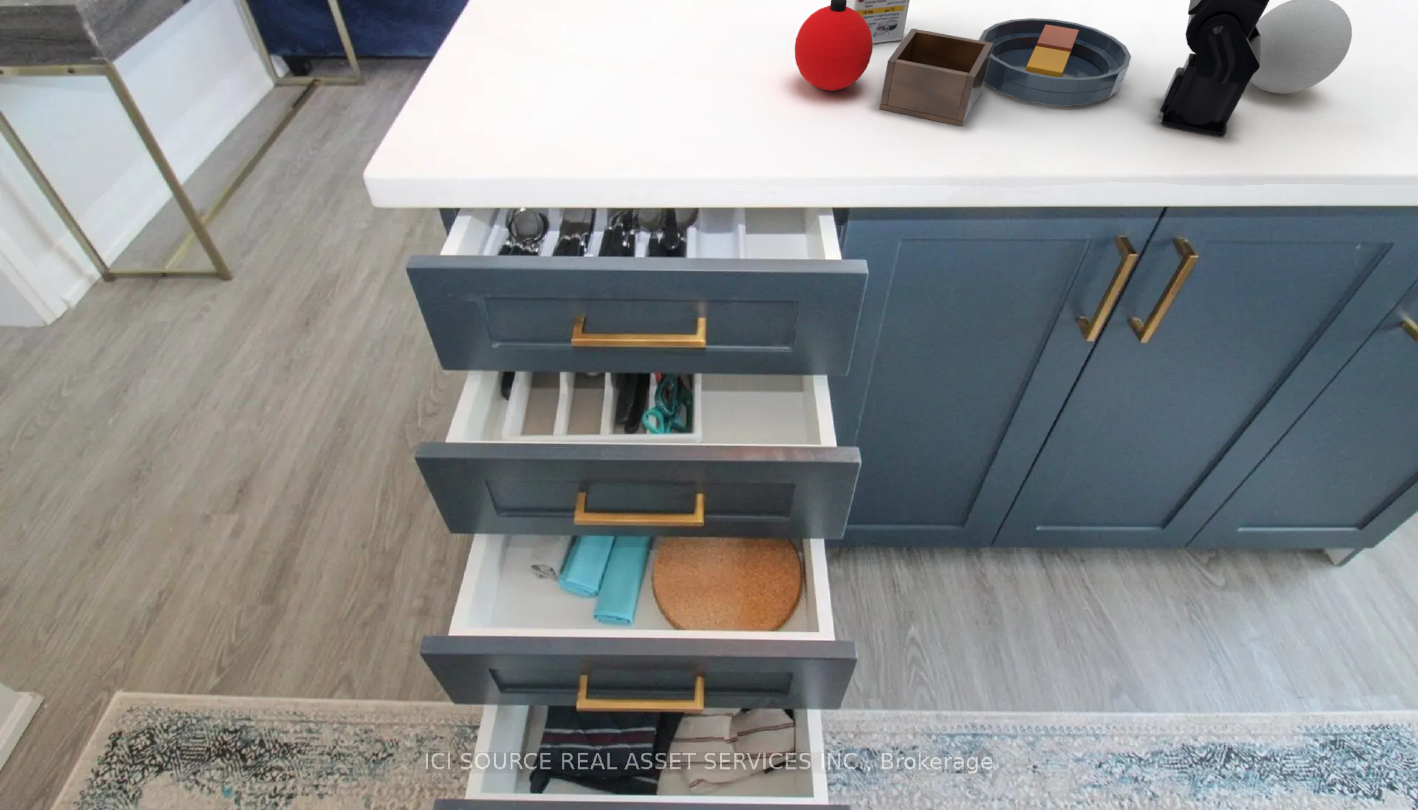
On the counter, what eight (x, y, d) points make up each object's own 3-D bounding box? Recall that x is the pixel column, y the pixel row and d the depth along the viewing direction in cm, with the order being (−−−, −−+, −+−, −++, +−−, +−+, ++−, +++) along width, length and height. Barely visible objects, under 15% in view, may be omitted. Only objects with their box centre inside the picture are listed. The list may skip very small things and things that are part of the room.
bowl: (1125, 61, 95) (1137, 33, 93) (1109, 122, 85) (1122, 91, 82) (988, 37, 100) (995, 9, 98) (958, 91, 90) (965, 62, 87)
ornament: (882, 90, 90) (897, 1, 83) (825, 111, 87) (836, 21, 79) (831, 63, 95) (841, -23, 88) (776, 83, 92) (782, -5, 84)
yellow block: (1061, 77, 91) (1070, 51, 89) (1053, 98, 88) (1062, 72, 85) (1028, 70, 92) (1035, 45, 90) (1018, 91, 89) (1026, 65, 87)
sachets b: (1070, 54, 95) (1078, 29, 93) (1063, 73, 92) (1071, 48, 90) (1037, 48, 97) (1045, 24, 94) (1029, 67, 93) (1037, 42, 91)
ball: (1241, 63, 95) (1287, -24, 87) (1329, 88, 90) (1384, -1, 83) (1211, 89, 90) (1257, 0, 82) (1302, 118, 85) (1359, 26, 78)
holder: (980, 90, 90) (993, 42, 86) (962, 126, 84) (975, 77, 80) (902, 75, 93) (911, 28, 89) (879, 109, 87) (887, 60, 83)
